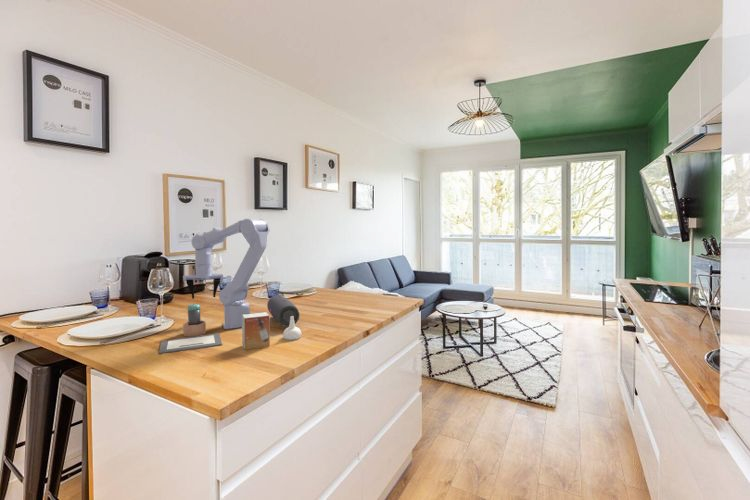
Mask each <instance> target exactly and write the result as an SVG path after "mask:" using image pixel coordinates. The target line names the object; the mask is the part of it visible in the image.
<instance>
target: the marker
mask: <svg viewBox="0 0 750 500" xmlns="http://www.w3.org/2000/svg"><path fill="white" fill-rule="evenodd" d="M201 320H202V319H201V304H197V303H193V304H189V305H187V322H188V325H198V324H201Z"/></svg>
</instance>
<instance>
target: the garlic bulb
mask: <svg viewBox="0 0 750 500" xmlns="http://www.w3.org/2000/svg"><path fill="white" fill-rule="evenodd" d="M282 336H283V338H284V340H287V341H294V340H295V341H296V340H299V339H300V338H301V337H302V331H301V329H300V328H299V327H298V326H296V324H295V323H294V316H291V317H290V324H289V327H286V328H285V329H284V330H283V334H282Z"/></svg>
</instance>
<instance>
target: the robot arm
mask: <svg viewBox="0 0 750 500" xmlns="http://www.w3.org/2000/svg"><path fill="white" fill-rule="evenodd" d="M269 232H270V227H269V225H268V221H266V220H265V219H262V218H259V219H255V218H254V219H250V218H244V219H243V220H242V219H241V220H238V221H236V222H235V223H232V224H231V225H229V226H226V227H223V228H221V227H213V228H212V230H209V231H204V232H203V234H195V235H193V237H192V238H191V246H192V248H194V249H195V250H194V251H195V252H194V253H195V255H194V256H195V260H194V261H195V274H188V275H183V276H182V281H183V282H186V285H187V287H188V289H189V291H190V294H191V298H192V300H193V299H195V291H194V281H209V280H213V281H212V282H213V291H212V297H213V298H216V295H217V291H218V288H219V285H220V283H221V280H224V274H223V273H212V252H213V247H214V246H215V245H219V244H221V243H223V242H226V240H227V238H228V237H230V236H233V235H236V234H240V233H241V234H242V235H243V237H244V239H245V240H246V242H247V243H248V245H249V247H248V248H247V251H246V253H245V255H244V257H243V259H242V261H241V263H240V264H239V266H238V268H237V270H236V272H235V275H234V277H233V278H232V280H231V281H230V282H228V283H227V284H226V285H225V286H224V288H223V289H221V290H220V291H219V295H218V299H219V301H220V302H221V303H222V305H223V310H224V311H223V315H224V317H223V318H224V322H223V323H222V325H223V329H224V330H230V329H238V328H242V315H243V314H251V310H250V303H249V302H245V299H247V298H248V291H249V288H250V286H249V284H248V283H249V281H250V279H251V277H252V275H253V273H254V271H255V269H256V268H257V266H258V263H259V262H260V260H261V258H262V256H263V254H264V252H265V250H266V248H267V242H268V234H269Z"/></svg>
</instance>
